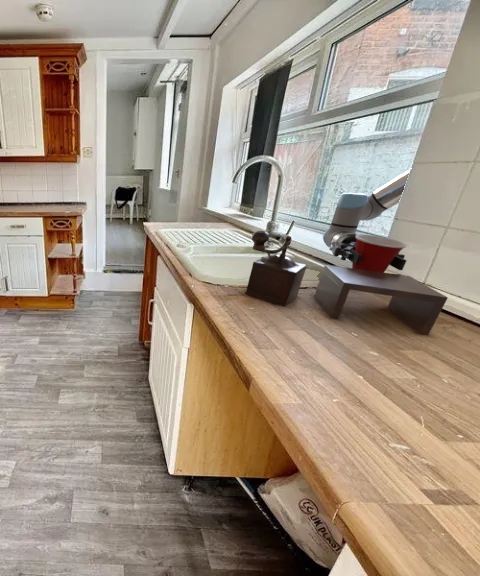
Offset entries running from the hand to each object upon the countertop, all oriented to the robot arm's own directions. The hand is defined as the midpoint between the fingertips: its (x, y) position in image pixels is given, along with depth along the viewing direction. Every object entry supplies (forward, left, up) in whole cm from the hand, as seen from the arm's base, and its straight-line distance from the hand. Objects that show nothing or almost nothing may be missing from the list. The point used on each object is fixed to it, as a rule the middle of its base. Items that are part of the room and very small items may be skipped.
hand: (380, 262), depth 80 cm
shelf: (+4, +11, -11) cm, 16 cm away
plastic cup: (0, -5, -7) cm, 8 cm away
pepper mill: (+26, +12, -11) cm, 31 cm away
